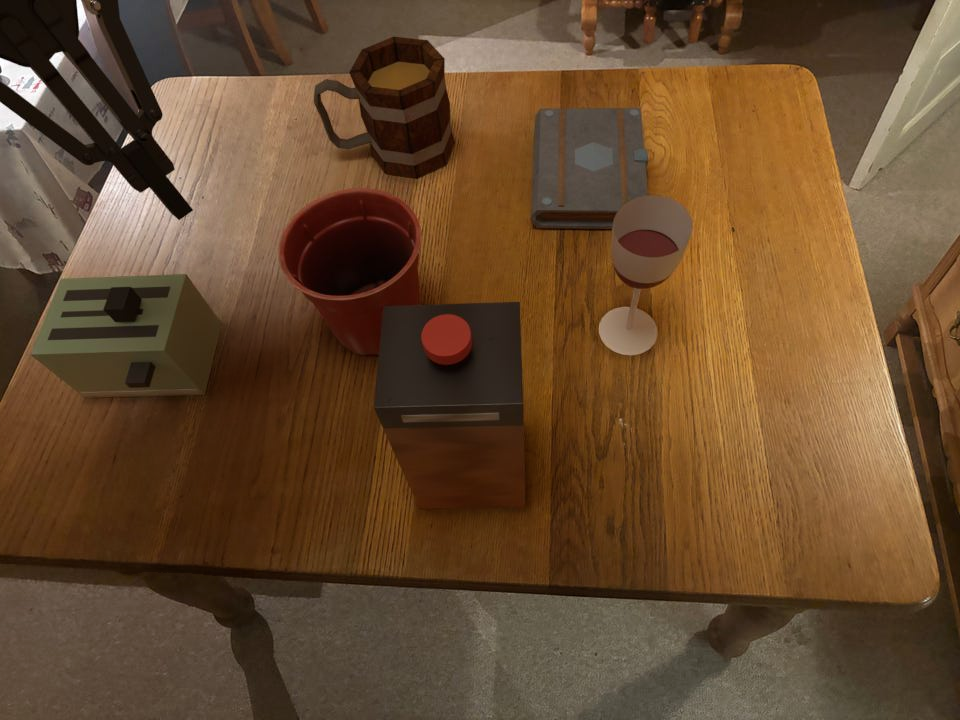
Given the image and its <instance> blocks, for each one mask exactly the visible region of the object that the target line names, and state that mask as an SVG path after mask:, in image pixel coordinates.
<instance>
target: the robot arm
mask: <svg viewBox="0 0 960 720" xmlns="http://www.w3.org/2000/svg"><path fill="white" fill-rule="evenodd" d="M77 1H78V0H0V59H2V60H4V61H7V62H10V63H12V64H15V65H17V66H20V67H23V68H30V69H31V71H32V72H33V73H34V74H35V75H36V77H38V79H39V80H40V81H41V82H42V83H43V84H44V86H45V87H46V88H47V89H48V90H49V91H50V93H51V94H52V95H53V96H54V97H55V99H56V100H57V101H58V102H59V103H60V105H62V107H63V108H64V109H65V110H66V111H67V113H68V114H69V115H70V117H72V119H73V120H74V121H75V122H76V123H77V125H78V126H79V127H80V128H81V129H82V131H83V132H84V133H85V134H86V135H87V136H88V138H89V139H90V140H91V141H92V142H91V143H87V144H84V143H83V142H82V141H81V140H79V139H78V138H76V137H75V136H74V135H73V134H71V133H70V132H69V131H67V130H66V129H65V128H64V127H62V126H61V125H59V124H58V123H57V122H56V121H54V120H53V119H52V118H50V117H49V116H48V115H46V114H45V113H44V112H43V111H41V110H40V109H39V108H37V107H36V106H35V105H33V104H32V103H31V102H29V100H27V99H25V97H23V96H22V95H21V94H19V93H18V92H16V91H15V90H14V89H13V88H11V87H10V86H9V85H8V84H6V83H4V82H3V81H2V80H0V103H1V105H3V106H5V107H6V108H7V109H9V110H10V111H11V112H13V113H14V114H15V115H17V116H18V117H20V119H22V120H23V121H25V122H26V123H27V124H29V125H31V126H32V127H33V128H34V129H36V131H38V132H39V133H41V134H42V135H43V136H45V137H46V138H48V139H49V140H50V141H52V142H53V143H54V144H56V145H57V146H58V147H60V148H61V149H63V150H64V151H65V152H67V153H68V154H69V155H70V156H72V157H73V158H75V160H77V161H79V162H80V163H81V164H82V165H85V166H93V165H94V164H96V163H102V162H109V163H111V165H112V166H113V167H114V168H115V170H117V171H118V172H119V174H120V175H121V176H122V178H123V179H124V180H125V182H127V183H128V184H129V186H130V187H131V188H132V189H133V190H134V191H136V192H138V193H140V194H142V193H144V192H145V191H147V190H148V189H150V190H151V191H152V192H153V193H154V195H155V196H156V197H157V198H158V200H159V201H160V202H161V203H162V204H163V206H164V207H165V208H166V210H168V212H169V213H170V214H171V215H172V216H174V217H175V218H176V219H177V220H178V221H180V220H182V219H183V218H185V217H186V216H187V215H189V214H190V213H192V212H193V211H194V208H193V207H192V206H191V205H190V204H189V202H188V201H187V200H186V199H185V197H184V196H183V195H182V194H181V192H180V191H179V190H178V189H177V188H176V186H175V185H174V184H173V182H172V181H171V180H170V178H168V175H170V174H171V173H172V172H174V171H175V170H176V168H175V165H174V162H173V161H172V160H171V158H170V157H169V156H168V155H167V153H165V150H164V149H163V148H162V147H161V146H160V144H159V143H158V142H157V141H156V139H155V138H154V136H153V130H154V128H155V126H156V124H157V123H158V122H159V121H161V120H162V118H163V110H162V108H161V106H160V104H159V102H158V100H157V98H156V96H155V93H154V91H153V88H152V86H151V84H150V82H149V79H148V77H147V75H146V73H145V71H144V69H143V66H142V65H141V62H140V60H139V58H138V57H139V56H137V53H136V51H135V49H134V46H133V44H132V42H131V39H130V38H129V35H128V33H127V31H126V29H125V26H124V25H123V21H122V20H121V15H120V7H119V0H80V1H81V2H82V3H83V6H84V9H85V10H86V12H88V13H89V14H91V15H95V17H96V21H97V24H98V26H99V29H100V30H101V34H102V35H103V37H104V39H105V41H106V43H107V46H108V48H109V50H110V53H111V54H112V56H113V58H114V60H115V61H114V62H115V63H116V64H117V67H118V69H119V71H120V73H121V75H122V77H123V80H124V82H125V85H126V86H127V88H128V89H129V90H128V91H129V93H130V94H131V97H132V98H133V101H134V103H135V105H136V107H137V109H138V111H137V112H135V111H134V110H133V108H132V107H131V106H130V105H129V103H128V102H127V100H125V97H123V95H122V94H121V93H120V91H118V89H117V88H116V86H115V85H114V84H113V83H112V81H111V80H110V79H109V77H108V76H107V75H106V74H105V73H104V71H103V70H102V69H101V68H100V66H99V65H98V64H97V62H96V61H95V59H94V58H93V57H92V56H91V54H90V52H89V51H88V50H87V48H86V47H85V46H84V44H83V43H82V42H81V40H80V39H79V37H80V24H79V23H80V22H79V13H78V2H77ZM58 53H62V54H63V56H65V57H66V58H67V60H68V61H69V62H70V63H71V64H72V65H73V67H74V68H75V69H76V71H77V72H78V74H80V75H81V77H82V78H83V79H84V80H85V82H86V83H87V84H88V85H89V87H90V88H91V89H92V90H93V92H94V93H95V94H96V95H97V96H98V98H99V99H100V100H101V101H102V103H103V104H104V105H105V107H106V108H107V109H108V110H109V112H110V113H111V115H113V116H114V118H115V119H116V120H117V122H118V123H119V124H120V125H121V126H122V128H123V129H124V130H125V132H126V133H127V134H128V135H129V136H130V137H131V138H132V139H133V140H131V141H130V142H128V143H127V144H125V145H124V146H122V147H120V146H119V144H118V143H117V142H116V140H114V138H113V137H112V135H111V134H110V133H109V132H108V130H107V129H106V128H105V127H104V126H103V125H102V123H100V121H99V120H98V118H96V116H95V115H94V114H93V113H92V111H91V110H90V109H89V108H88V106H87V105H86V104H85V103H84V101H83V100H82V99H81V98H80V96H79V95H78V94H77V93H76V91H75V90H74V89H73V88H72V86H71V85H70V84H69V83H68V81H66V80H65V78H64V77H63V76H62V75H61V73H60V72H59V70H58V69H57V68H56V67H55V65H54V64H53V63H52V61H51V59H52V58H53V57H54V56H55V54H58Z"/></svg>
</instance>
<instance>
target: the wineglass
mask: <svg viewBox="0 0 960 720" xmlns="http://www.w3.org/2000/svg"><path fill="white" fill-rule="evenodd" d="M693 222H694V221H693V219H692V216H691V214H690V212H689V210H688V209H687V208H686V207H685V206H684V205H683V204H682V203H680V202H679V201H677V200H675V199H673V198H671V197H667V196H664V195H658V194H657V195H656V194H649V195H648V196H642V197H638V198H635V199H633V200H631V201H629V202H627V203H626V204H625V205H623V206H622V207H621V208H620V209H619V211H618V212H617V214H616V216H615V218H614V222H613V228H612V229H611V243H610V251H611V252H610V253H611V254H610V255H611V261H612V266H613V270H614V271H615V273H616V276H617V277H618V278H619V280H621V282H622V283H624V284H625V285H626V286H627V287H630V288H633V294H632V298H631V302H630V306H620V307H615V308H613V309H611V310H609V311H607V312H606V313H605V314H604V315H603V316H602V317H601V319H600V322H599V324H598V334H599V337H600V338H599V339H600V340H601V342H602V343H603V344H604V345H605V347H607V348H608V349H609V350H611V351H612V352H613V353H617V354H619V355H622V356H623V355H624V356H635V355H636V356H637V355H641V354H644V353H646V352H648V351H649V350H650V349H651V348H652V347H653V346H654V345H655V343H656V341H657V339H658V327H657V324H656V322H655V320H654V319H653V318H652V317H651V315H650V314H649V313H647V312H646V311H644V310H642V309H640V308H638V303H639V300H640V295H641V291H642V290H647V289H652V288H654V287H657V286H659V285H661V284H663V283H664V282H665V281H667V279H669V278H670V277H671V276H672V275H673V273H674V272H675V271H676V270H677V269H678V267H679V265H680V263H681V261H682V259H683V258H684V256H685V253H686V251H687V248H688V245H689V242H690V240H691V236H692V235H693V228H694V223H693Z"/></svg>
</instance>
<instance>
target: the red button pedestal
mask: <svg viewBox="0 0 960 720" xmlns="http://www.w3.org/2000/svg"><path fill="white" fill-rule="evenodd" d="M445 314H451V315H456V316H459V317H461V318H462V319H464V320H465V321H466V322H467V324H468V325H469V327H470V330H471V336H472V348H471V350H470V352H469V354H468V355H467V356H466V357H465V358H464V359H463V360H461V361H460V362H457V363H455V364H450V365H443V364H438V363H436V362H434V361H432V360H431V359H429V358H428V356H427V355H426V353H425V351H424V348H423V344H422V339H421V334H422V330H423V328H424V326H425V325H426V324H427V323H428V322H429V321H430V320H431V319H433V318H434V317H437V316H440V315H445ZM521 322H522V321H521V302H520V301H501V302H499V301H497V302H495V301H494V302H470V303H469V302H468V303H439V304H438V303H437V304H422V305H407V306H384V307H383V315H382V326H381V337H380V347H379V355H378V358H377V359H378V360H377V370H376V371H377V372H376V379H375V393H374V402H373V409H374V412H375V413H376V416H377V417H378V421H379V422H380V423H379V424H381V427H382V429H383V432H384V434H385V436H386V438H387V440H388V442H389V445H390V447H391V449H392V451H393V454H394V455H395V459H396V460H397V463H398V465H399V467H400V470H401V471H402V474H403V476H404V478H405V480H406V482H407V484H408V486H409V489H410V491H411V493H412V496H413V497H414V500H415V502H416V504H417V506H418V508H419V510H441V509H443V510H446V509H451V510H452V509H498V508H499V509H501V508H503V509H505V508H509V509H510V508H512V509H513V508H525V507H526V491H525V490H526V489H525V488H526V487H525V486H526V485H525V484H526V482H525V425H524V424H525V422H524V421H525V419H524V417H525V416H524V384H523V383H524V380H523V379H524V378H523V351H522V350H523V348H522V323H521Z"/></svg>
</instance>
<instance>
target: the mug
mask: <svg viewBox="0 0 960 720" xmlns="http://www.w3.org/2000/svg"><path fill="white" fill-rule="evenodd" d="M445 59H446V58H445V57H444V56H443V55H442V54H441V52H439V50H438V49H436V47H435V46H434V45H432V43H431V42H430V41H429V40H428V39H420V38H410V37H403V36H392V37H389V38H387V39H384V40H381V41H379V42H376V43H374V44H372V45H370V46H366V47H363V48H362V49H361V50H360V51H359V53H358V55H357V57H356V60H355V61H354V62H353V64H352V66H351V68H350V70H349V72H348V73H349V76H350V78H351V80H352V83H353V85H354V87H350V86H347V85H345V84H344V83H342V82H340V80H339V81H338V80H334V79H328V78H325V79H324V80H322V81H320V82H318V83H317V84H315V85H314V90H313V91H314V92H313V104H314V107H315V108H316V111H317V112H318V113H317V114H319V116H320V119H321V122H322V124H323V127H324V130H325V132H326V134H327V137H328V139H329V141H330V142H331V143H332V145H334V146H335V147H336V148H337V149H339V150H340V149H341V150H346V151H349V150H352V149H355V148H357V147H361V146H365V145H368V144H369V146H370V154H371V155H370V156H371V157H372V158H373V160H374V161H375V162H376V163H377V165H378V166H379V167H380V169H381V170H382V172H383V173H384V174H385V175H387V176H395V177H401V178H408V179H415V180H418V179H420V178H422V177H425V176H427V175H428V174H431V173H433V172H435V171H438V170H440V169H442V168H445V167H446V166H447V164H448V162H449V160H450V157H451V154H452V152H453V149H454V147H455V144H456V141H455V137H454V133H453V130H452V121H451V103H450V98H449V94H448V89H447V84H446V83H447V82H446V77H445V76H446V75H445V69H446V68H445V67H446V65H445V61H446V60H445ZM327 91H330V92H334V93H337V94H338V95H341V96H342V97H343V98H346V99H348V100H358V106H359V110H360V111H359V112H360V118H361V119H362V122H363V125H364V127H365V129H366V132H364V133H361V134H358V135H355V136H352V137H351V138H348V139H346V138H341V137H339V135H337V133H336V132H335V131H334V128H333V125H332V122H331V119H330V116H329V113H328V110H327V109H326V107H325V105H324V103H323V101H322V94H323V93H325V92H327Z"/></svg>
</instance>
